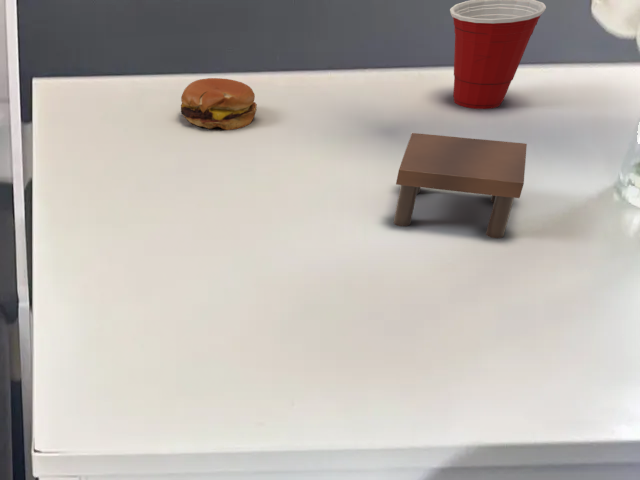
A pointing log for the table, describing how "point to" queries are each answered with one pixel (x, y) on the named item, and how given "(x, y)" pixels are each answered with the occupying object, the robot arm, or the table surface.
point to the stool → (462, 173)
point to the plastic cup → (490, 47)
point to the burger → (218, 103)
